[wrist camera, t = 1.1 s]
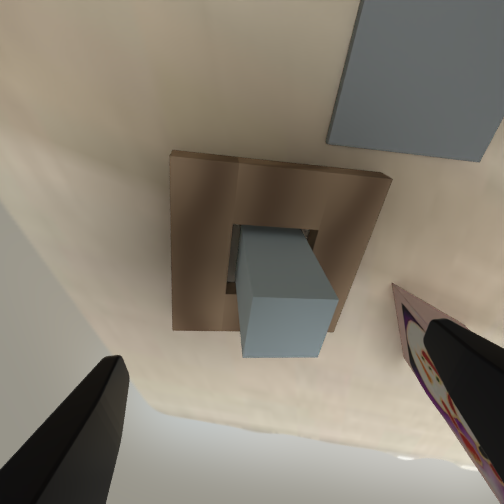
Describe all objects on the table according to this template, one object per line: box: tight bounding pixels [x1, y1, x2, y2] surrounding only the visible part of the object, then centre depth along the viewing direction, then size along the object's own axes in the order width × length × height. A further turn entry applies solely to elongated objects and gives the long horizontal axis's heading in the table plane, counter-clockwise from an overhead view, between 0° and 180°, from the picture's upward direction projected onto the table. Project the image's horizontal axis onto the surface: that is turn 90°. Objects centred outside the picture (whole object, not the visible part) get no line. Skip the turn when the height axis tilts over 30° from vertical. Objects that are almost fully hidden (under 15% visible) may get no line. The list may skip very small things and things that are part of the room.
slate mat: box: [326, 0, 504, 162], centre depth 16 cm, size 11×11×1 cm
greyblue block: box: [235, 225, 339, 358], centre depth 19 cm, size 4×4×8 cm
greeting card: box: [392, 283, 504, 504], centre depth 22 cm, size 11×7×15 cm, turn 22°
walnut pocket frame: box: [170, 150, 393, 332], centre depth 22 cm, size 14×14×2 cm
